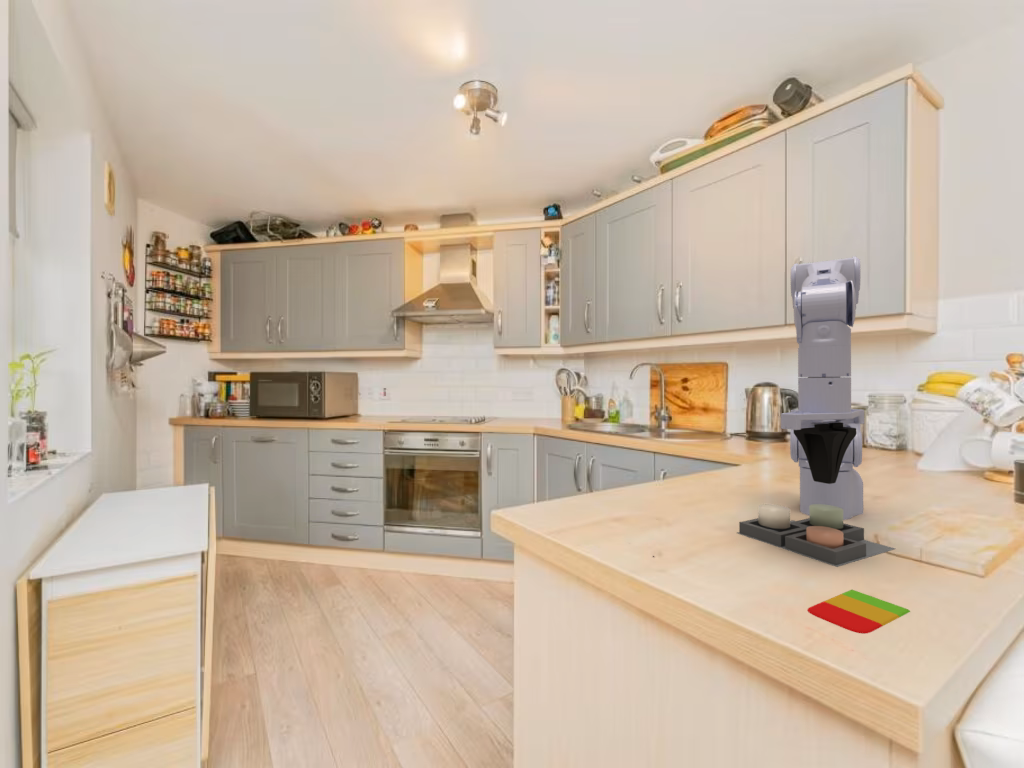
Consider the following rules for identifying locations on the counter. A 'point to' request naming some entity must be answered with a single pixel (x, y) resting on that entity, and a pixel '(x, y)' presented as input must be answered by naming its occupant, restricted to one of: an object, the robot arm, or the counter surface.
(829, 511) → the sage button
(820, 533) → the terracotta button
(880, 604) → the striped ice pop
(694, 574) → the counter surface
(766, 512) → the cream button
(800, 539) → the grey compartment tray
